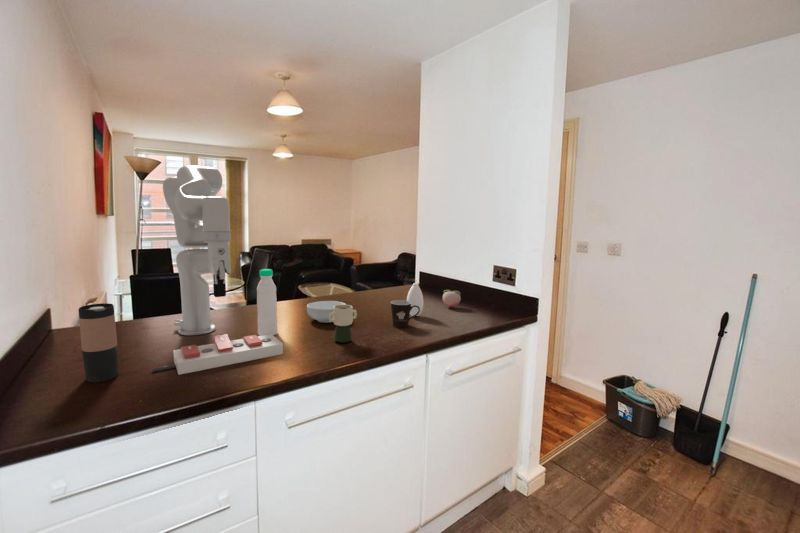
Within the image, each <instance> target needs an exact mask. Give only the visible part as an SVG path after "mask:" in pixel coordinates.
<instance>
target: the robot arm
mask: <svg viewBox="0 0 800 533" xmlns="http://www.w3.org/2000/svg"><path fill="white" fill-rule="evenodd" d="M222 186H223V176H222V174H221V172H220V171H219V170H218V169H217V168H215V167H211V166H201V165H191V164H189V165H188V164H187V165H183V166H182V167H180V168H179V169H178V171H177V172H176V176H171V177H170V176H169V177H167V178H166V179H164V180H163V183H162V191H163V196H164V197H163V198H164V200H165V202H166V205H167V206H168V208H169V210H170V212H171V214H172V217H173V222H174V229H175V234H176V239H177V242H178V245H179V246H181V247H182V248H186V249H184V250H181V251H180V252H179V253H178V252H177V253H178V254H177V255H176V258H175V262H176V267H177V272H178V277H179V283H180V299H181V317H182V319H180V318H179V319H178V318H177V319H176V318H175V320H174V322H173V325H174V326H179V329H178V330H177V332H178V334H179V335H182V336H201V335H205V334H209V333H212V332H214V331H215V330H216V325H215V324H213V323H211V322H212V320H211V302H210V286H209V283H208V282H207V280H205V279H204V278H203V277H202V276H201V275H206V274H211V275H212V278H213V280H212V281H213V284H212V285H213V287H212V289H213V296H214V297H215V298H221V297H226V296H227V287H226V286H227V284H226V274H227V275H231V274H232V265H231V254H230V247H229V246H230V245H229V243H231V242H232V240H231V238H232V237H231V219H230V218H231V217H230V214H231V213H230V201H229V199H228V198H227V197H225V196H217V195H218V193H219V192H220V190H221V189H222ZM201 221H202V222H201Z"/></svg>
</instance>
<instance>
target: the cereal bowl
mask: <svg viewBox="0 0 800 533" xmlns="http://www.w3.org/2000/svg"><path fill="white" fill-rule="evenodd" d="M335 305H347V303H345V302H342V301H337V300H321V301H320V300H319V301H314V302H309V303H307V305H306V312H307V315H308V316H309V317H310V318H311V319H312V320H316V321H317V322H319V323H323V324H324V323H330V322H329V313H333V307H334V306H335ZM331 319H333V315H332V316H331Z"/></svg>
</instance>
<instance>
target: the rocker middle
mask: <svg viewBox="0 0 800 533" xmlns="http://www.w3.org/2000/svg"><path fill="white" fill-rule="evenodd" d="M213 341H214V343H215V344H216V347H217V349H218V352H223V351H228V350H233V346H232V344H231V342H230V341H231V340H230V337H229V335H228V333H223V334H217V335H213Z"/></svg>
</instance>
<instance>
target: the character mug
mask: <svg viewBox="0 0 800 533" xmlns="http://www.w3.org/2000/svg"><path fill="white" fill-rule="evenodd" d="M332 315H333V319H331V316H332ZM357 316H358V311H357V310H356V309H354V307H353V305H351V304H346V305H335V306H334V307H333V313H329V323H333V324H334V325H335V326H336V327H335V331H334V339H333V340H334V341H336V342H338V343H349V342H350V341H352V339H353V338H352V331H351V327H350V325H352V324H353V323H354V322H353V321H354V320H355V319H357Z"/></svg>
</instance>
